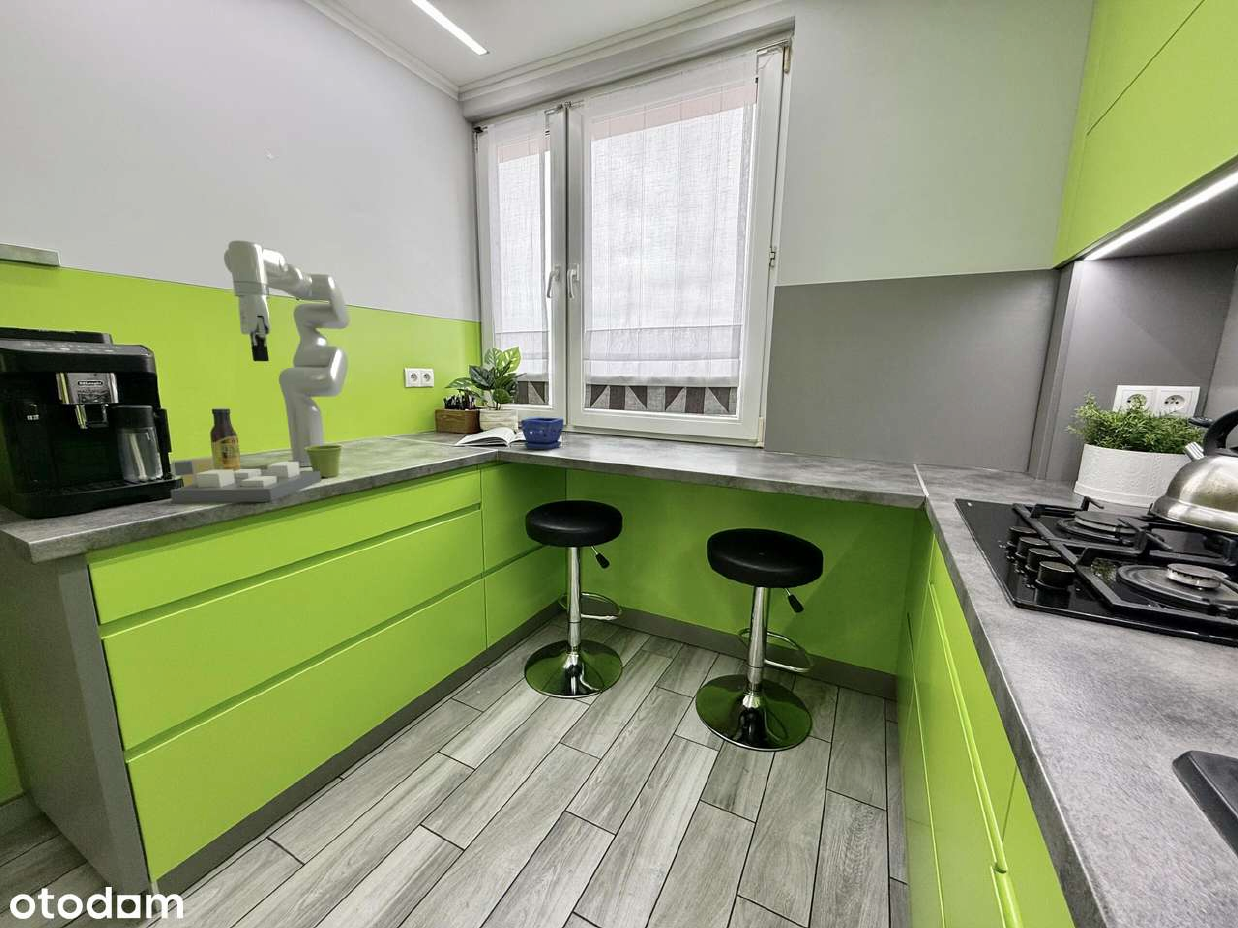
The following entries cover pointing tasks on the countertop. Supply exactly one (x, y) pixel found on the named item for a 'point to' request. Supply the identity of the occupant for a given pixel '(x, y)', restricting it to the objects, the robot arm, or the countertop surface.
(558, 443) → the flower pot
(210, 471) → the button
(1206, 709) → the countertop surface
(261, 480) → the button
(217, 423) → the sauce bottle
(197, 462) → the card
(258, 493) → the button board
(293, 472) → the button
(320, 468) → the plant pot
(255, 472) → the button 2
